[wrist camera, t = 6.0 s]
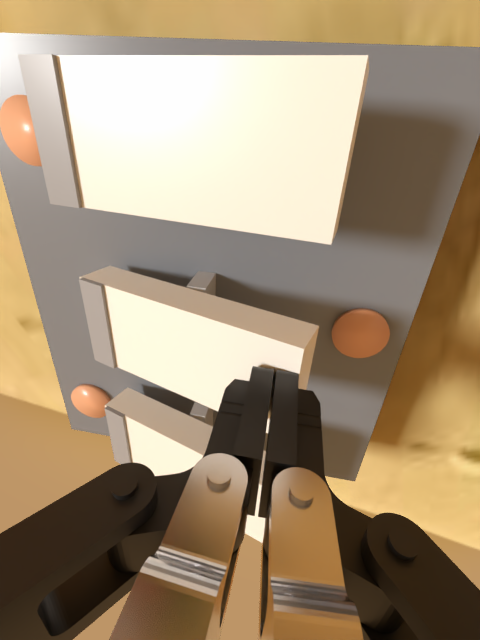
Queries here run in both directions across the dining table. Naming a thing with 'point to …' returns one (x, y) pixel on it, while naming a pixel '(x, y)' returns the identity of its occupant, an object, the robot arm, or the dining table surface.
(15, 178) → the switch panel
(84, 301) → the rocker mid
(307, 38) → the dining table surface
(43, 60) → the rocker near
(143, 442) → the rocker far
